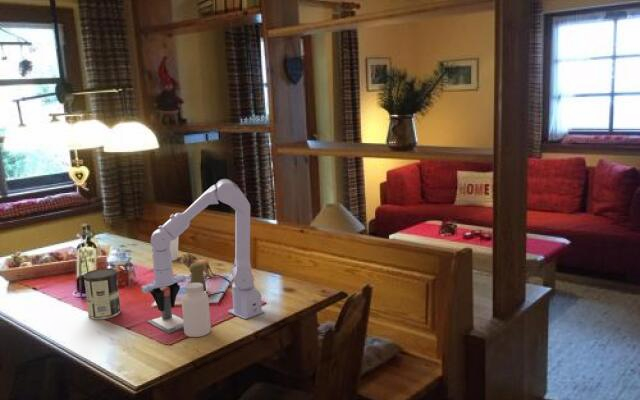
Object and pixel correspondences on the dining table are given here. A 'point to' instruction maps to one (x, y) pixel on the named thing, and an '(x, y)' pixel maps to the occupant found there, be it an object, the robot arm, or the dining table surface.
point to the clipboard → (168, 323)
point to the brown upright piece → (197, 274)
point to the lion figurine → (189, 259)
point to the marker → (166, 303)
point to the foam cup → (174, 248)
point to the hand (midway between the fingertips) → (166, 308)
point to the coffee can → (102, 293)
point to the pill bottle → (195, 311)
